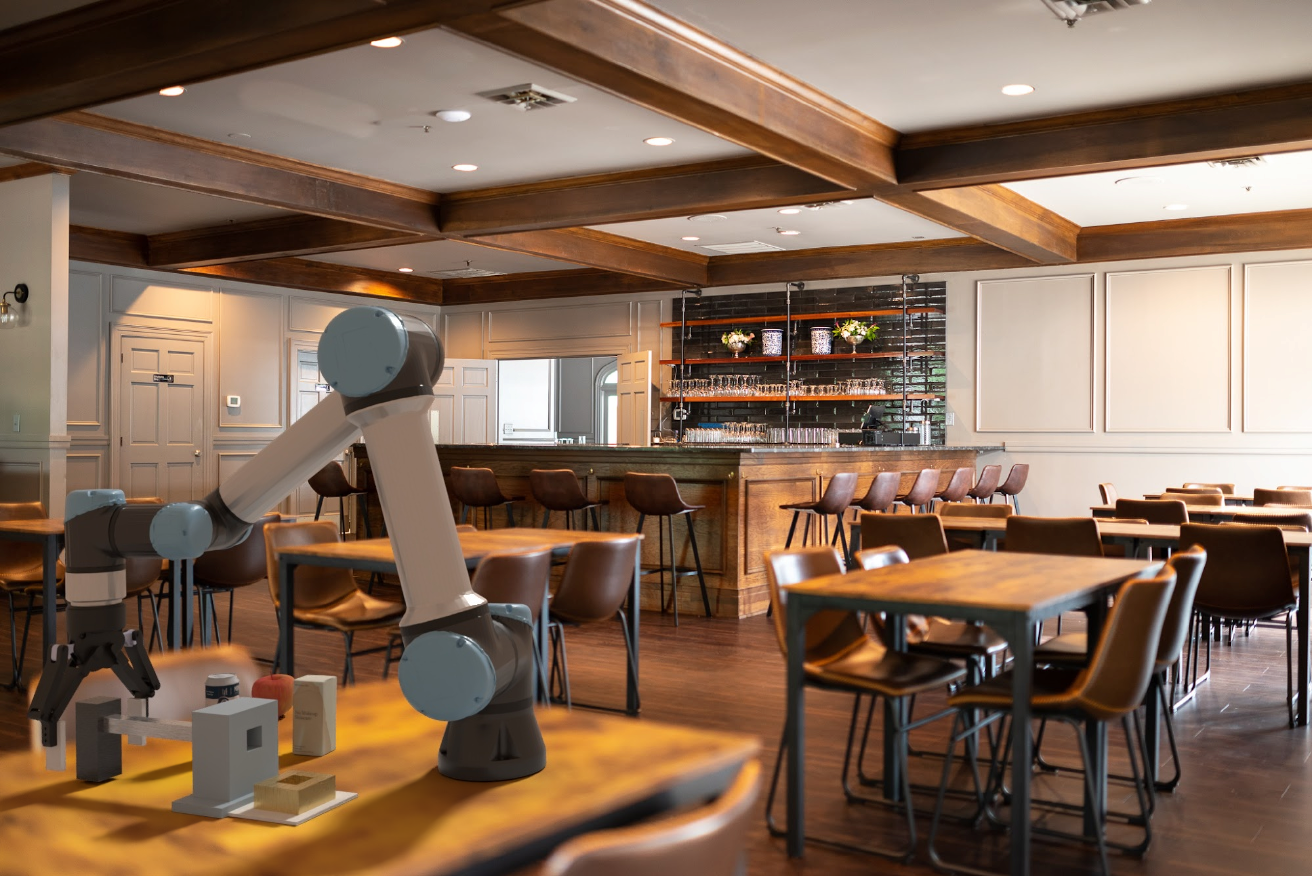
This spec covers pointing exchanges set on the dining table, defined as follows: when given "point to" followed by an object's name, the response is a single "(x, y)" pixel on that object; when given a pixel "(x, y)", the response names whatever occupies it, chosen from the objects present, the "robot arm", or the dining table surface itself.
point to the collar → (294, 792)
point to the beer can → (221, 688)
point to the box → (314, 715)
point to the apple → (275, 690)
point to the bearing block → (231, 755)
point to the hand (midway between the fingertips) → (98, 757)
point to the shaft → (114, 735)
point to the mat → (291, 819)
